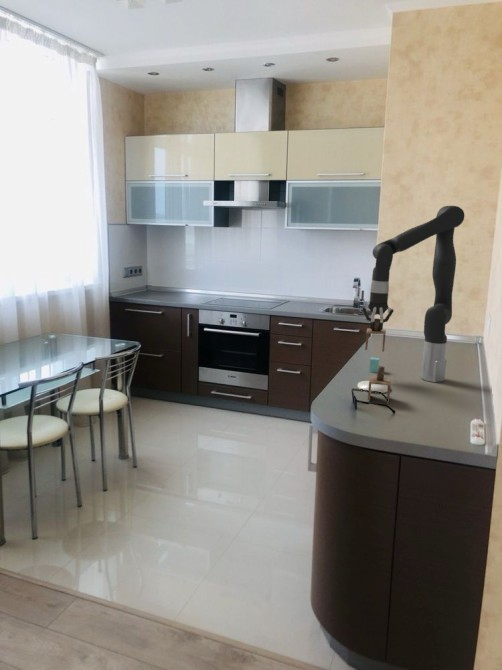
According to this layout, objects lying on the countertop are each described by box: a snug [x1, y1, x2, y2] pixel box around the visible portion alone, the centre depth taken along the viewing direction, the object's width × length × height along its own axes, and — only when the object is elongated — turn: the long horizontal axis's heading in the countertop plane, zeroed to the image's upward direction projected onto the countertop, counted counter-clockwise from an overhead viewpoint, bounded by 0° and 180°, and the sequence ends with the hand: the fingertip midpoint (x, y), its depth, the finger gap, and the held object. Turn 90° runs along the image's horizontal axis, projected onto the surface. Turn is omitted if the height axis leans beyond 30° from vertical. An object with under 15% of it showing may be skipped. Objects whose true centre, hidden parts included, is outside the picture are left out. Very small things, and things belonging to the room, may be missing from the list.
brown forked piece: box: [364, 318, 387, 352], centre depth 241 cm, size 8×8×13 cm
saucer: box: [357, 380, 388, 394], centre depth 230 cm, size 13×13×1 cm
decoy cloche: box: [367, 365, 392, 405], centre depth 215 cm, size 8×8×13 cm
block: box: [368, 356, 380, 374], centre depth 255 cm, size 4×4×6 cm
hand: (376, 330), depth 241 cm, fingers closed on brown forked piece, 2 cm apart
